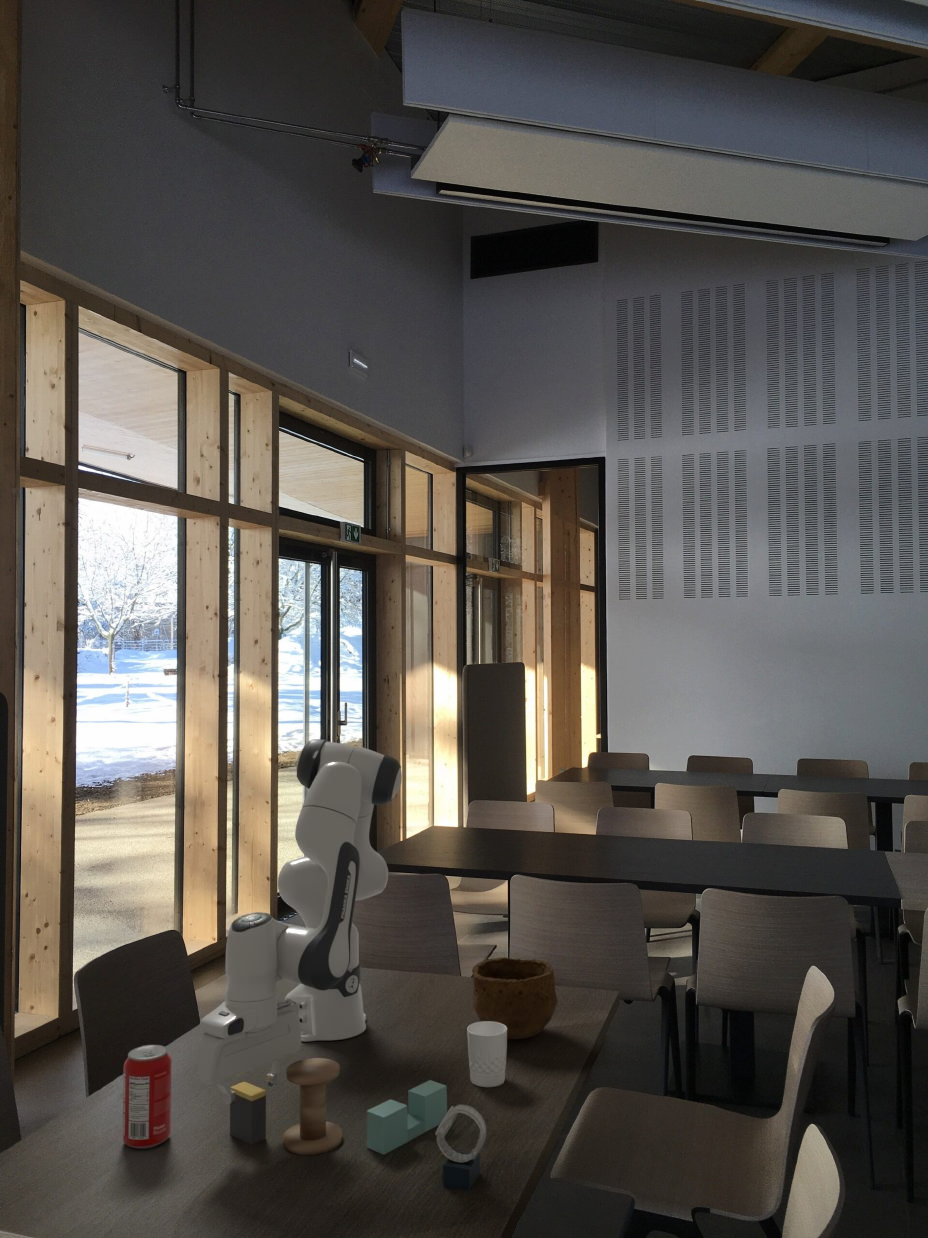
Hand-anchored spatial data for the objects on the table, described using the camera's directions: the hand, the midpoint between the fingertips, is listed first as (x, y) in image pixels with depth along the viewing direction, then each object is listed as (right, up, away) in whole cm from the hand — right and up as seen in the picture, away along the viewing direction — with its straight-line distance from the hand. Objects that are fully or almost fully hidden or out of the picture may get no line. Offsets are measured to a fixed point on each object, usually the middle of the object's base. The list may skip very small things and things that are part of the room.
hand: (251, 1094), depth 167 cm
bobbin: (+11, -7, -2) cm, 13 cm away
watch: (+36, -6, -15) cm, 40 cm away
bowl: (+48, -10, +46) cm, 67 cm away
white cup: (+41, -9, +22) cm, 48 cm away
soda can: (-18, -8, -2) cm, 19 cm away
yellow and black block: (-1, -7, 0) cm, 7 cm away
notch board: (+27, -7, 0) cm, 28 cm away
